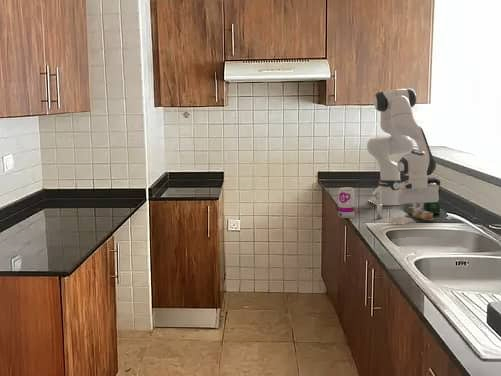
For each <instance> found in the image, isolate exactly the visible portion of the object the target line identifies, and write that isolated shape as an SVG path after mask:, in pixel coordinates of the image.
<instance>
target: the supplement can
mask: <svg viewBox="0 0 501 376" xmlns="http://www.w3.org/2000/svg"><path fill="white" fill-rule="evenodd" d="M337 196H338V197H337V198H338V199H337V200H338V201H337V203H338V204H337V205H338V206H337V207H338V217H339V218H341V219H351V218H355V216H356V212H355V211H356V209H355V207H356V203H355V199H356V198H355V189H354V188H353V187H350V186H346V187H345V186H344V187H339V189H338V190H337Z"/></svg>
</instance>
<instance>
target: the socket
mask: <svg viewBox="0 0 501 376" xmlns="http://www.w3.org/2000/svg"><path fill="white" fill-rule="evenodd" d="M393 223H396V224H402V223H409V224H410V218H408V217H404V216H394V217H390V224H393ZM396 224H395V225H396ZM402 225H403V224H402Z"/></svg>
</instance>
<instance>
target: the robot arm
mask: <svg viewBox="0 0 501 376" xmlns="http://www.w3.org/2000/svg"><path fill="white" fill-rule="evenodd" d="M416 102H417V94H416V92H415V90H414V89H413V88H408V87H407V88H394V89H389V90H385V91H379V92H377V93H375V95H374V99H373V105H374V108H375V110H377V111H378V112H380V122H379V124H380V129H381V130H382V131H383V132H384V133H385V134H388V136H387V135H386V136H385V135H383V136H376V137H371V138H369V140H368V142H367V144H366V150H367V152H368V154H370V155H371V156H372V157H373V158H374V159H375V160H376V162H377V163H378V165H379V174H380V175H379V176H380V179H379V180H378V181H377V182H378V185H377V187H376V189H375V190H373V191H372V193H371V194H372V195H371V199H368V200H367V202H368V201H369V202H368V203H370V202H371V203H370V204H372V203H373V204H372V205H375V206H377V204H382V206H400V205H405V204H406V205H408V204H409V205H410V204H411V205H412V207H414V208H415V212H421V210H422V209H423V208H424V203H429V202H438V201H439V193H438V190H439V186H438V185H437V184H436V183H433V184H427V178H428V176H431V175H432V174H433V173H434V172H435V171H436V168H437V163H436V159H435V157H434V156H433V154H432V151H431V149H430V146H429V143H428V140H427V137H426V135H425V132H424V130H423V128H422V126H420V125H419V124H418V123H417V122H416V120H415V118H414V114H413V110H412V108H413V107H414V106H416ZM389 135H390V136H389ZM413 140H414V141H413ZM414 142H415V143H416V145H417V148H418V150H416V149H415V150H413V149H414ZM404 155H405V156H404ZM390 156H403V157H401V158H400V160H398V163H397V162H396V161H393V160H391V159H390ZM401 175H403V176H408V180H405V181H402V179H401ZM417 204H419V207H417Z"/></svg>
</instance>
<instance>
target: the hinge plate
mask: <svg viewBox="0 0 501 376" xmlns="http://www.w3.org/2000/svg"><path fill="white" fill-rule="evenodd" d="M405 216H406V217H411V218H416V219H420V220H424V221H435V218H433V219H424V218H421V217H417V216H413V215H408V213H407V214H406V215H405Z"/></svg>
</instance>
